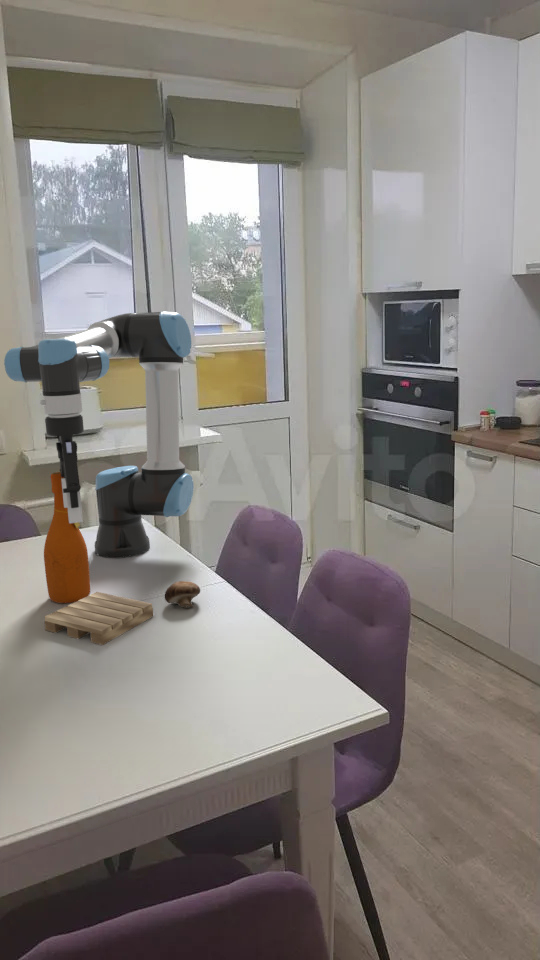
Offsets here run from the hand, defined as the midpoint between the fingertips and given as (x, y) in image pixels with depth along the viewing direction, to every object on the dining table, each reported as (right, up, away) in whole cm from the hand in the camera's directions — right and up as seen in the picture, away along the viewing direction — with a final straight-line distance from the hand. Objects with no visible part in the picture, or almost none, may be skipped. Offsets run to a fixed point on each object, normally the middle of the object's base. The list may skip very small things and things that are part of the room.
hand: (73, 514), depth 158 cm
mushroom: (+22, -21, +9) cm, 32 cm away
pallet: (+6, -23, +1) cm, 24 cm away
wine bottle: (-5, -20, +16) cm, 27 cm away
